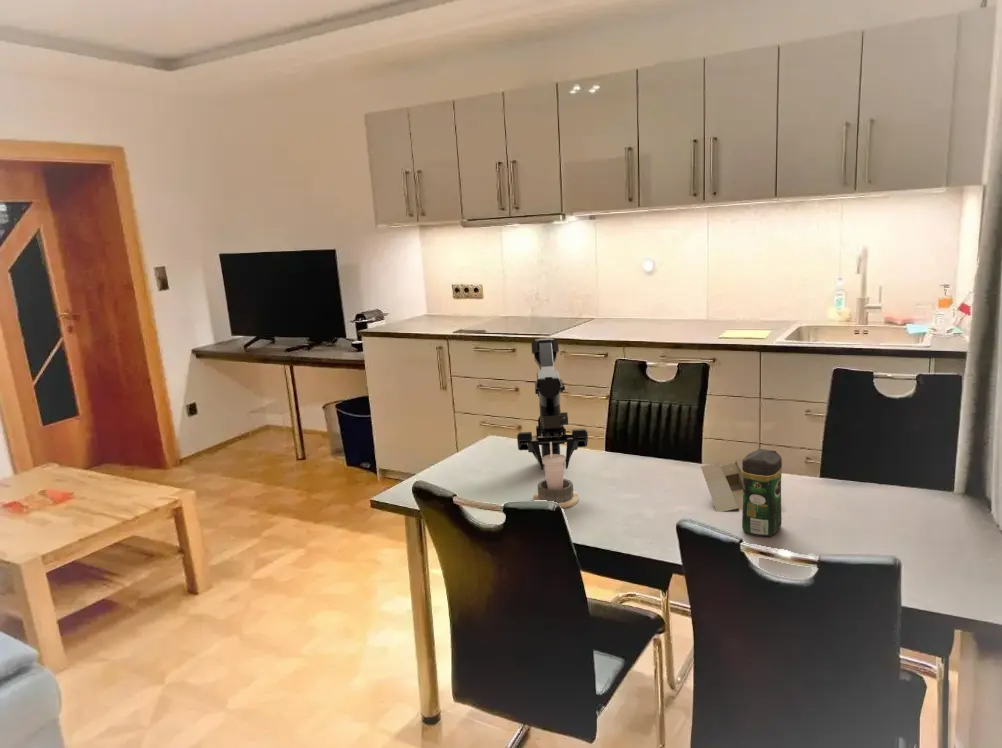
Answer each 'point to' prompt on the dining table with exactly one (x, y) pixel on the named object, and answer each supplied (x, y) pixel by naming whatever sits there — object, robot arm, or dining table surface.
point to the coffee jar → (762, 492)
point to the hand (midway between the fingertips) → (554, 468)
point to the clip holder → (557, 494)
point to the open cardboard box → (725, 485)
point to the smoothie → (554, 469)
